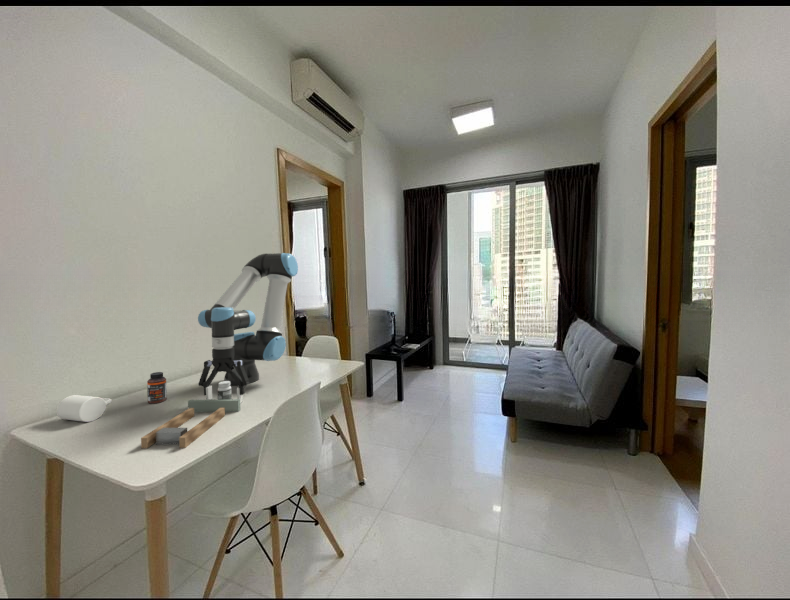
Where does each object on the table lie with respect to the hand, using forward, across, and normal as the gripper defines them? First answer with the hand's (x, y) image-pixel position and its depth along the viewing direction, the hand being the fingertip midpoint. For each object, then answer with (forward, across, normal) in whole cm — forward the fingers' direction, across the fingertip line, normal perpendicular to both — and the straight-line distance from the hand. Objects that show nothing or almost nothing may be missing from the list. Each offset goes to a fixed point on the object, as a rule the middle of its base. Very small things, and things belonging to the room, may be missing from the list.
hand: (224, 403), depth 118 cm
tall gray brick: (0, 0, -29) cm, 29 cm away
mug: (+1, -41, -11) cm, 42 cm away
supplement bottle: (0, -28, +3) cm, 28 cm away
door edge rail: (0, 0, -7) cm, 7 cm away
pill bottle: (0, 0, 0) cm, 0 cm away
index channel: (0, 0, -22) cm, 22 cm away
